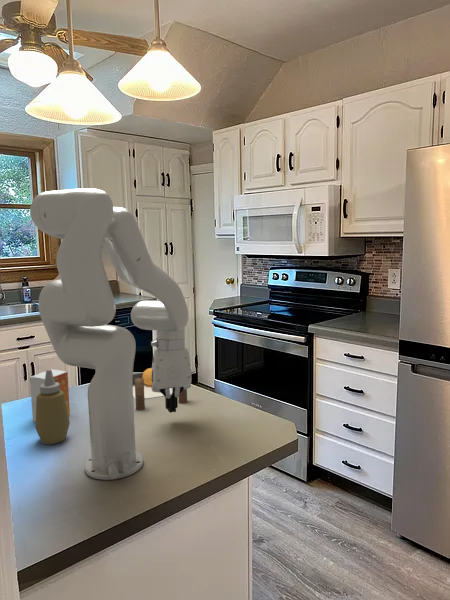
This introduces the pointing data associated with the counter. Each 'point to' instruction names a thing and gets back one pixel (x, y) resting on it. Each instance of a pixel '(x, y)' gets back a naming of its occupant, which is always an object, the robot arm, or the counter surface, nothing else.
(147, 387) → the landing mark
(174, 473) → the counter surface
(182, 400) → the right post
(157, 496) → the counter surface
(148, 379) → the ball
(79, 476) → the counter surface
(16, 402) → the counter surface
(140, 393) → the left post
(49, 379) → the squeeze bottle
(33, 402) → the small box
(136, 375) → the stopper wall
